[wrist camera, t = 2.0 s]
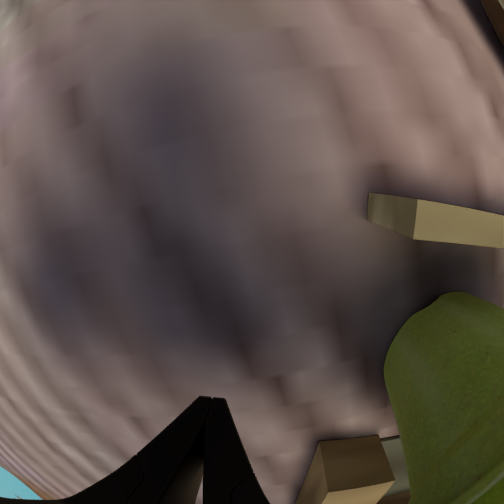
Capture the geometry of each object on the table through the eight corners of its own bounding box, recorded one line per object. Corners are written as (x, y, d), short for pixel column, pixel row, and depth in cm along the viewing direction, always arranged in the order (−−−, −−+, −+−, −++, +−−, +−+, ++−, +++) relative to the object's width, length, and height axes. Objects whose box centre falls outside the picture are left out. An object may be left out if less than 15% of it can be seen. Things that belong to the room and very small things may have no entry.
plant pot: (452, 414, 12) (509, 508, 4) (318, 418, 12) (346, 576, 4) (520, 274, 10) (629, 338, 2) (390, 232, 10) (590, 344, 1)
